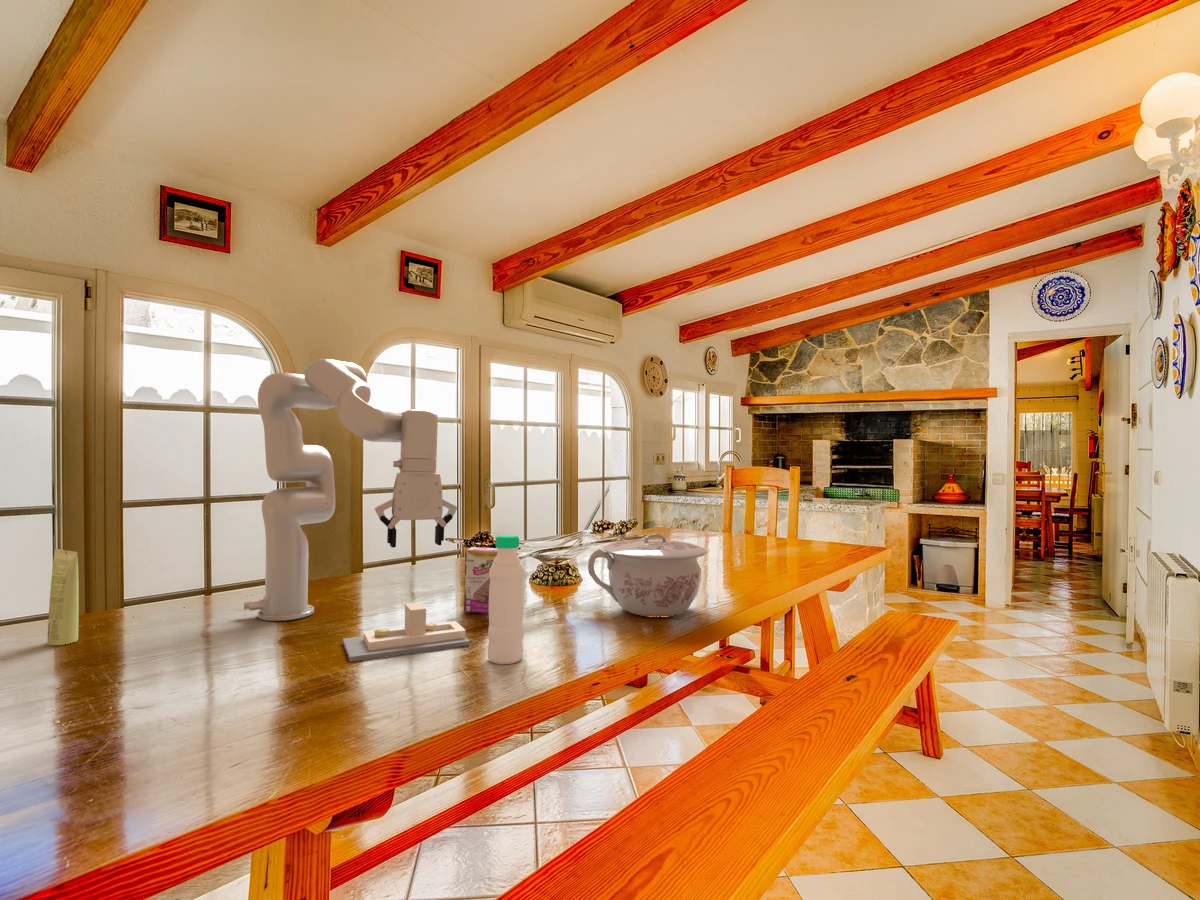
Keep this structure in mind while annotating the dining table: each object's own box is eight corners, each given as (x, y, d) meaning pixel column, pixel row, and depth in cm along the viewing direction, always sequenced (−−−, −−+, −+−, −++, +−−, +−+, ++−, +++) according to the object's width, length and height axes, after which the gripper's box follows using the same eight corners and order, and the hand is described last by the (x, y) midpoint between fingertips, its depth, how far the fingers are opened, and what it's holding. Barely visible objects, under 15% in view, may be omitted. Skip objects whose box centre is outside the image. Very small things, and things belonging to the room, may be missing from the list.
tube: (86, 637, 134) (87, 547, 134) (75, 645, 129) (77, 551, 129) (53, 640, 132) (55, 548, 132) (41, 647, 127) (43, 552, 127)
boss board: (350, 662, 122) (350, 643, 122) (342, 643, 134) (342, 626, 134) (469, 645, 134) (469, 628, 134) (453, 629, 145) (453, 614, 145)
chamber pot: (721, 608, 169) (723, 532, 169) (678, 632, 146) (680, 544, 146) (632, 593, 184) (633, 524, 184) (580, 613, 161) (581, 534, 161)
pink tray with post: (369, 650, 127) (369, 615, 127) (363, 639, 134) (363, 606, 134) (465, 637, 136) (466, 605, 136) (455, 627, 143) (456, 597, 143)
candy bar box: (463, 613, 159) (464, 549, 159) (469, 608, 164) (470, 546, 164) (506, 615, 158) (507, 551, 158) (510, 610, 163) (511, 548, 163)
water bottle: (528, 656, 128) (530, 534, 128) (512, 667, 121) (515, 539, 121) (498, 651, 130) (500, 532, 130) (481, 662, 123) (483, 536, 123)
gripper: (379, 467, 127) (376, 550, 127) (462, 468, 135) (459, 546, 136) (373, 465, 134) (371, 544, 134) (453, 466, 142) (450, 541, 142)
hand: (415, 545), depth 135 cm, fingers open, 9 cm apart
